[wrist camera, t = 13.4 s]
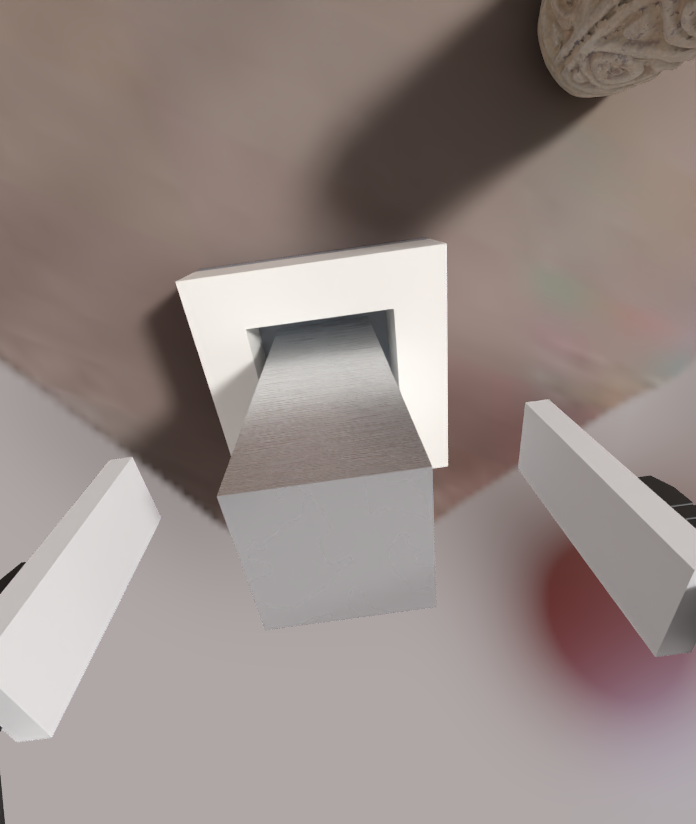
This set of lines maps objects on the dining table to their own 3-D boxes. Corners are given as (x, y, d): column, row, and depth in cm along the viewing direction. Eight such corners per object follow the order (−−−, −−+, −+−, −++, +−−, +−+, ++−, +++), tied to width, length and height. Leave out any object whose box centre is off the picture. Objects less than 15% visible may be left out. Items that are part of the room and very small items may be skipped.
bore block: (200, 269, 21) (175, 281, 17) (425, 237, 21) (446, 243, 17) (254, 455, 26) (243, 494, 23) (430, 431, 26) (447, 466, 23)
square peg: (277, 329, 21) (216, 496, 9) (368, 316, 21) (432, 466, 9) (294, 409, 24) (265, 630, 11) (376, 398, 24) (436, 606, 11)
